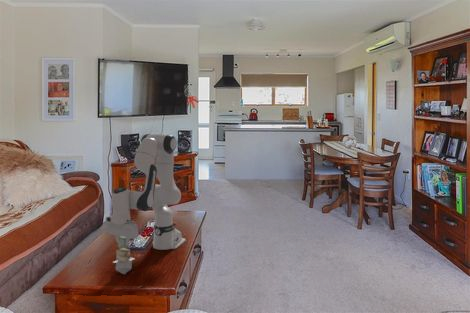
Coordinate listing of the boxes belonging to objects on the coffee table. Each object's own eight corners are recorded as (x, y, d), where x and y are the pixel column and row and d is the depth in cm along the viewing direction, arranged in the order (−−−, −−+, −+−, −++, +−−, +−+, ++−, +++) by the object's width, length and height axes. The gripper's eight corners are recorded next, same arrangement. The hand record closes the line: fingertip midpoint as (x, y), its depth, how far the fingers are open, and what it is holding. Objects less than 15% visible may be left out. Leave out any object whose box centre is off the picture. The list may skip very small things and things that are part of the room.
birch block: (123, 256, 209) (122, 247, 209) (130, 258, 207) (129, 249, 206) (116, 260, 205) (116, 251, 204) (123, 261, 203) (123, 252, 202)
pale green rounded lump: (120, 244, 208) (119, 235, 207) (128, 245, 207) (128, 236, 207) (116, 248, 203) (116, 239, 202) (125, 248, 203) (125, 239, 202)
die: (135, 274, 207) (135, 256, 211) (124, 272, 200) (124, 253, 204) (123, 277, 210) (123, 259, 214) (112, 275, 202) (112, 257, 207)
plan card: (125, 256, 228) (125, 255, 228) (135, 259, 225) (135, 258, 225) (112, 262, 220) (112, 261, 220) (122, 265, 216) (122, 264, 216)
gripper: (140, 219, 201) (141, 245, 203) (112, 214, 211) (113, 238, 213) (132, 223, 195) (133, 249, 197) (103, 217, 205) (104, 242, 207)
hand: (122, 243), depth 205 cm, fingers closed on pale green rounded lump, 5 cm apart
